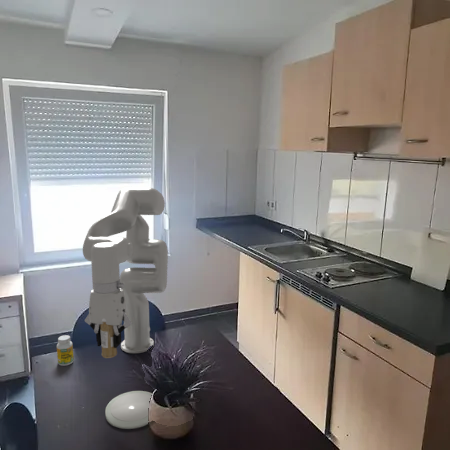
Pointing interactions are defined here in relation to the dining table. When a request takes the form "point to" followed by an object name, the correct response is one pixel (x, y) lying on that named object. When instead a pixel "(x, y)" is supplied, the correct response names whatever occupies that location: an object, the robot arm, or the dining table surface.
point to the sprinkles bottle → (107, 340)
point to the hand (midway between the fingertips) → (109, 344)
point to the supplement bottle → (65, 350)
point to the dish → (129, 410)
